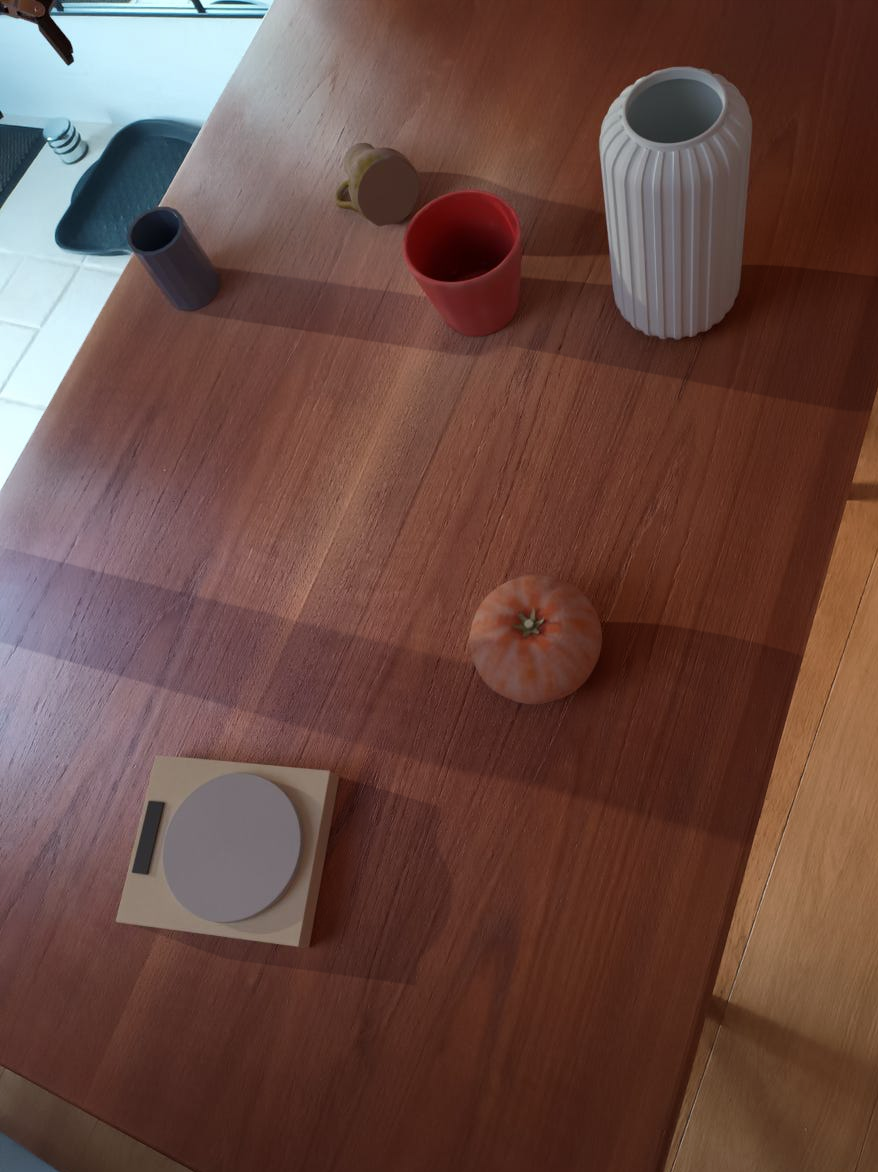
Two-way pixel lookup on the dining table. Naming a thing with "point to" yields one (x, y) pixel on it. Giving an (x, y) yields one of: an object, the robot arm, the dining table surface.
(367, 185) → the mug
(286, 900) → the scale
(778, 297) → the dining table surface
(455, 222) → the flower pot
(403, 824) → the dining table surface
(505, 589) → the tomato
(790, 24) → the dining table surface
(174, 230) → the ceramic cup
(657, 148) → the vase
